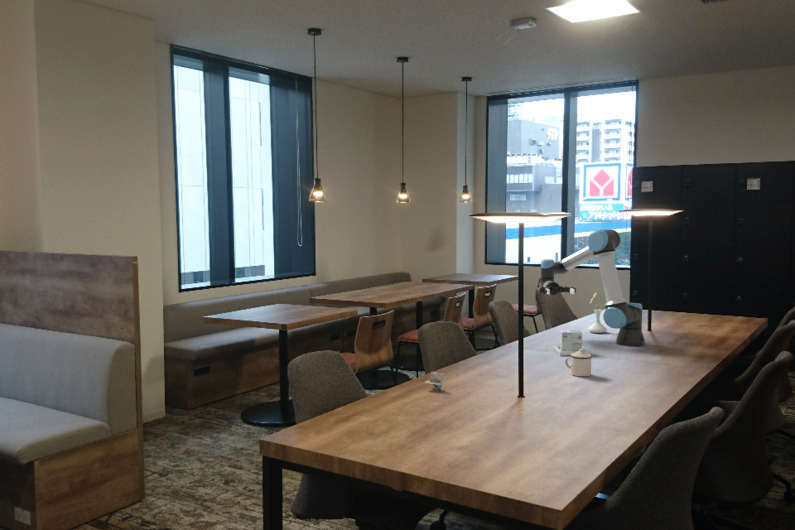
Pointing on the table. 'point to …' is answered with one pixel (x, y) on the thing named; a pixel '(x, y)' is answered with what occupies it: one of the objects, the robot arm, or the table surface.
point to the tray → (557, 349)
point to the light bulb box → (570, 340)
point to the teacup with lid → (580, 363)
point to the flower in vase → (597, 320)
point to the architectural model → (436, 381)
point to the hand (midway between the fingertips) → (561, 291)
